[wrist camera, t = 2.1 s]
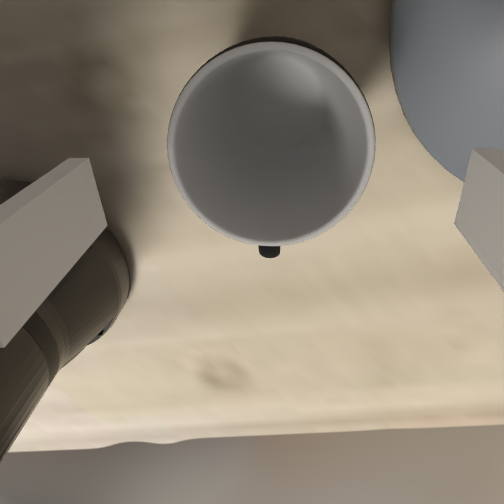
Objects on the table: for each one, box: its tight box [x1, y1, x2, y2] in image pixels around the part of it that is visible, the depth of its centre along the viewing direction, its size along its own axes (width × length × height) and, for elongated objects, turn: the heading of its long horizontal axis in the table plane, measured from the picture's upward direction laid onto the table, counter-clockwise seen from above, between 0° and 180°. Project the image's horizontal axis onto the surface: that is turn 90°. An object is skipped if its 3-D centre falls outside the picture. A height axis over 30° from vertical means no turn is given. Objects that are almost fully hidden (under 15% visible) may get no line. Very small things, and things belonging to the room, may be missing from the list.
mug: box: [167, 36, 375, 258], centre depth 22 cm, size 12×9×10 cm
